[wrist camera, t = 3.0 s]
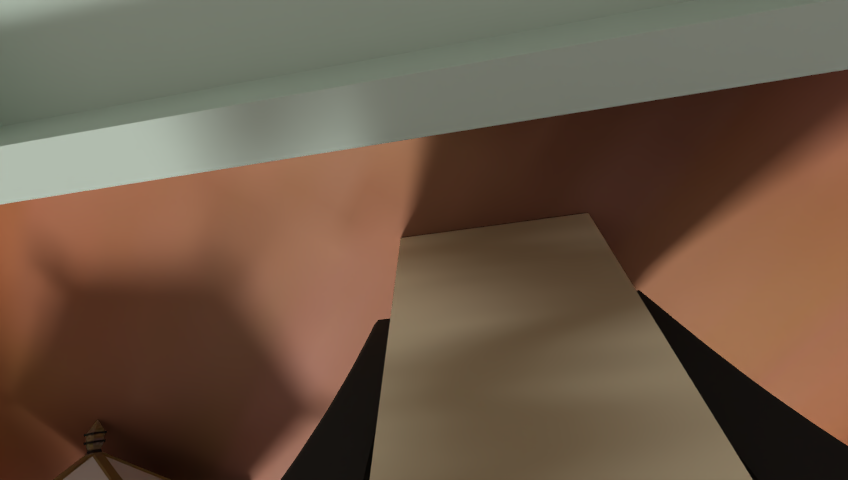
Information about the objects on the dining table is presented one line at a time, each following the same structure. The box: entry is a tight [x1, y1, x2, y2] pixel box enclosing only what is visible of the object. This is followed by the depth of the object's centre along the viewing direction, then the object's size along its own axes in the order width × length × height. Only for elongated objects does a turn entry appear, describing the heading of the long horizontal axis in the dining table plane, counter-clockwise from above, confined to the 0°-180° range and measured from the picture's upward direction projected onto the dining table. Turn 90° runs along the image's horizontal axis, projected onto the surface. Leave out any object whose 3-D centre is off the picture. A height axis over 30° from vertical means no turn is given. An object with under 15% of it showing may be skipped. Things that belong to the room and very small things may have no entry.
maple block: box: [370, 213, 753, 480], centre depth 8 cm, size 4×4×6 cm
